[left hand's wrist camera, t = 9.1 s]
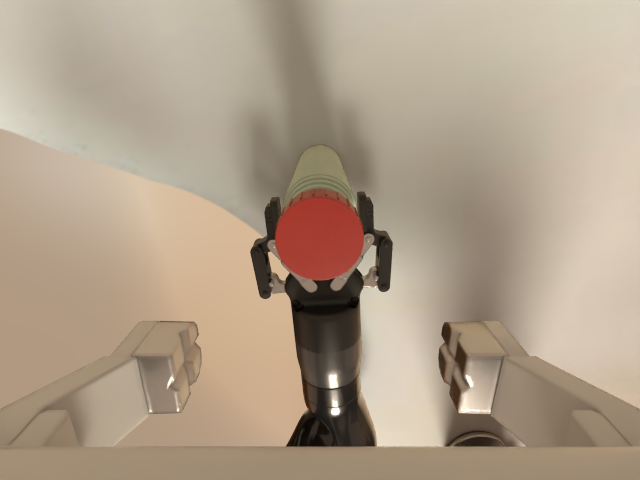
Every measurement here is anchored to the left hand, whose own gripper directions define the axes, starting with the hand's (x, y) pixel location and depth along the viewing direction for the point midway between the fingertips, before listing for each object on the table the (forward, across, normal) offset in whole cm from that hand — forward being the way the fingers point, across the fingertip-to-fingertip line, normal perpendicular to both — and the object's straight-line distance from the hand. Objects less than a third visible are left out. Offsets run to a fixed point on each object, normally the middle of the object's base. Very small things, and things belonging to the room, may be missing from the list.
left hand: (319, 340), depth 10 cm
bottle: (+32, 0, 0) cm, 32 cm away
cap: (+9, 0, 0) cm, 9 cm away
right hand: (+26, 0, +2) cm, 26 cm away
